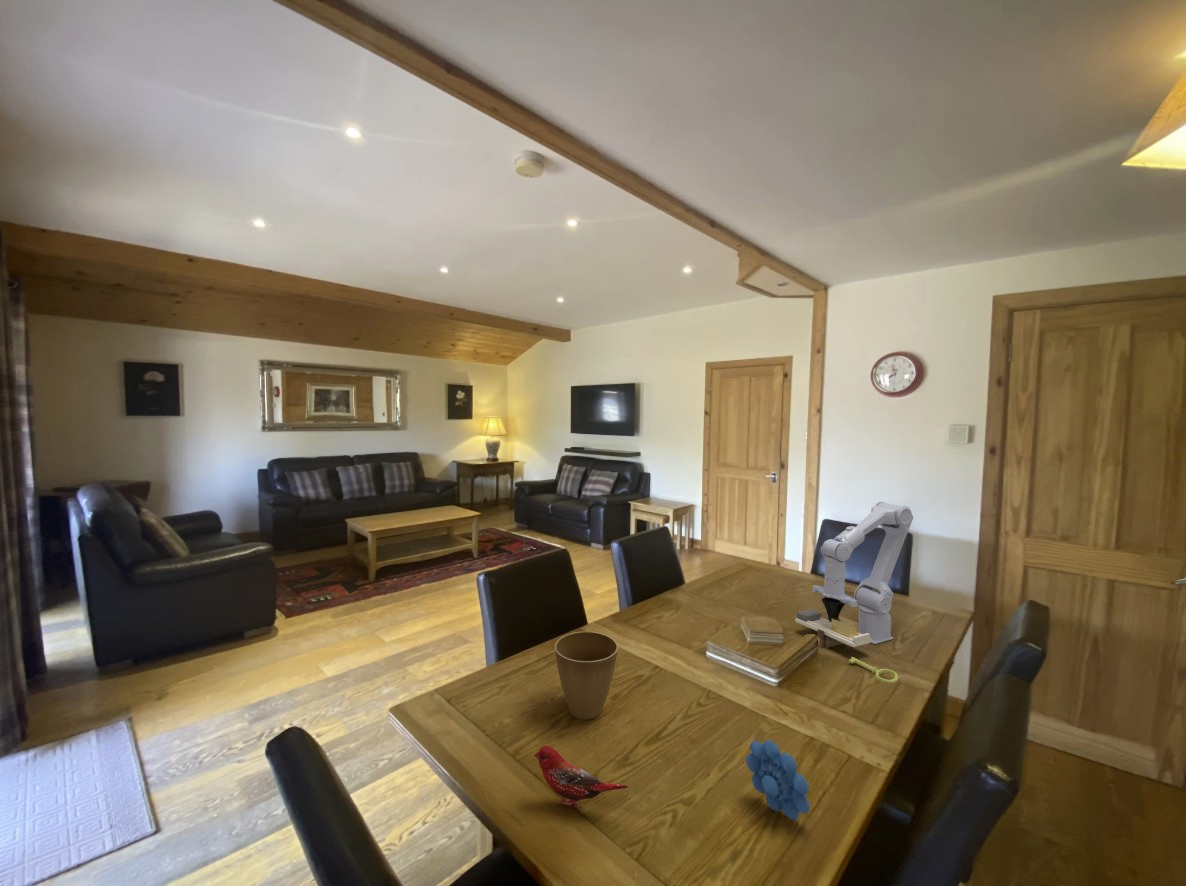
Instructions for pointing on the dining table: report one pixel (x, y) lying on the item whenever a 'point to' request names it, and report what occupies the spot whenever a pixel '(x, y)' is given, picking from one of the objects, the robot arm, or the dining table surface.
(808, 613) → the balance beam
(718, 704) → the dining table surface
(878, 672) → the key
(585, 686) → the plant pot
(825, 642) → the fulcrum stand
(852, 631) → the block
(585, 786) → the decorative bird figurine
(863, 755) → the dining table surface
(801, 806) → the blue flower
